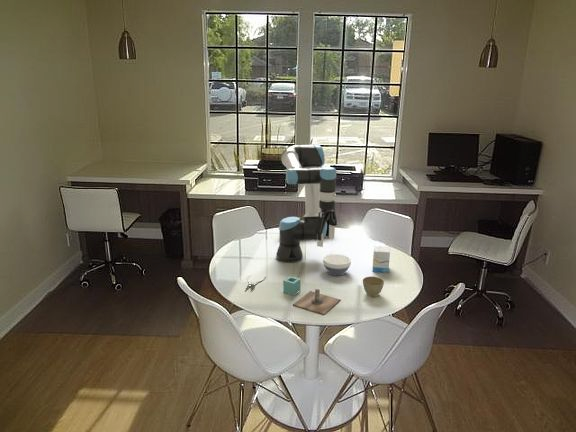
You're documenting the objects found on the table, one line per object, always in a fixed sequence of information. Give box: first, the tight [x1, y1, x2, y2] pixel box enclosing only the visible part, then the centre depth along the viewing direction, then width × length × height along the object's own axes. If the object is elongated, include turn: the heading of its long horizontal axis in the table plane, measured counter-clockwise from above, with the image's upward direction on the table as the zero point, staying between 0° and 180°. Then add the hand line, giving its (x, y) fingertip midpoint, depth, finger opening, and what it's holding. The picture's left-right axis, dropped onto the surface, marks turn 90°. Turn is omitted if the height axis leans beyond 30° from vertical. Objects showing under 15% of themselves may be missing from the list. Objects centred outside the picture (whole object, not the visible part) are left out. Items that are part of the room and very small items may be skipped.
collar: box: [282, 275, 302, 296], centre depth 216 cm, size 6×6×6 cm
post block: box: [292, 288, 342, 316], centre depth 204 cm, size 16×16×7 cm
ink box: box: [372, 245, 391, 273], centre depth 242 cm, size 8×8×12 cm
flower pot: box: [362, 275, 385, 298], centre depth 213 cm, size 10×10×7 cm
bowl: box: [322, 253, 352, 276], centre depth 238 cm, size 14×14×8 cm
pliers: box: [244, 283, 257, 292], centre depth 225 cm, size 10×1×20 cm
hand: (325, 242), depth 220 cm, fingers open, 13 cm apart
